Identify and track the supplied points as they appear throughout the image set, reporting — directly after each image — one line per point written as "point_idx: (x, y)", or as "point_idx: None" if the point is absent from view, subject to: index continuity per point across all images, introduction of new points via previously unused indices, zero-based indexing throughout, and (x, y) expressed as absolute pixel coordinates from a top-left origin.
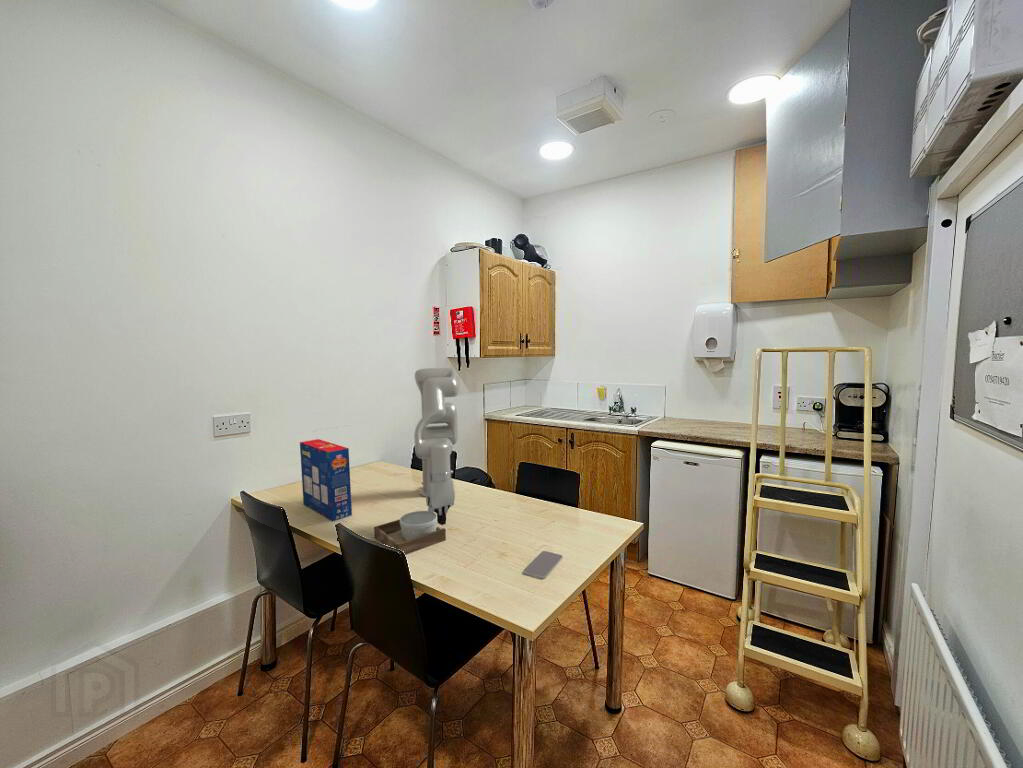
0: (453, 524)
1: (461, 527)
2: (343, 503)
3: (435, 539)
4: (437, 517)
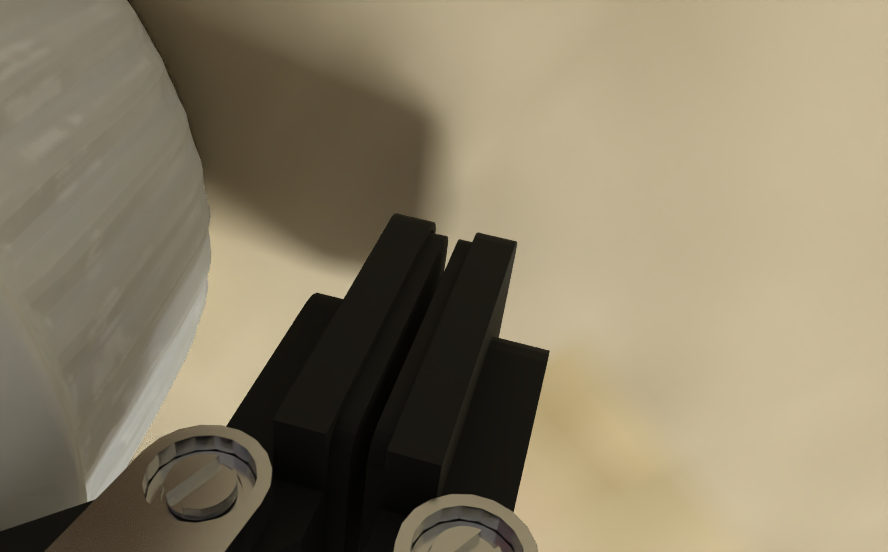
0: (797, 337)
1: (748, 532)
2: None
3: None
4: (263, 388)
